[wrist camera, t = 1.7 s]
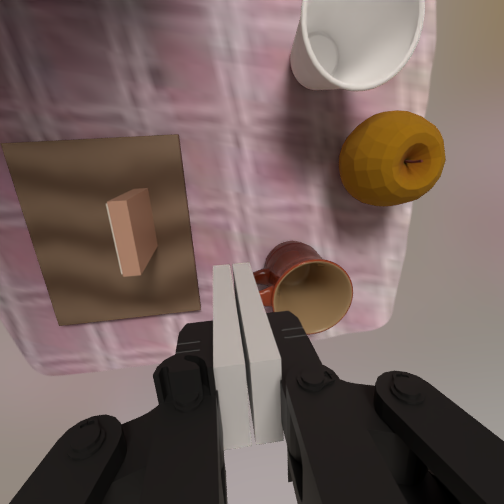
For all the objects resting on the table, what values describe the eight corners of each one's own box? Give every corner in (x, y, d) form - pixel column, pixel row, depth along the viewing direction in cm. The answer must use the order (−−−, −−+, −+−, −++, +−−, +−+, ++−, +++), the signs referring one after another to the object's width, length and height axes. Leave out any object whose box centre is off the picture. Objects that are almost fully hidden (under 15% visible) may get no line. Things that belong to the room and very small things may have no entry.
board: (8, 143, 31) (0, 143, 30) (178, 134, 33) (177, 134, 32) (63, 320, 39) (59, 325, 37) (200, 305, 40) (200, 309, 39)
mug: (322, 231, 39) (357, 257, 30) (317, 290, 42) (348, 331, 32) (232, 235, 38) (239, 263, 28) (234, 295, 41) (241, 340, 31)
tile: (131, 188, 33) (104, 201, 25) (147, 187, 33) (126, 200, 25) (142, 247, 36) (121, 277, 27) (157, 245, 36) (141, 275, 27)
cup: (349, -8, 31) (418, -88, 20) (365, 93, 34) (431, 68, 24) (261, 22, 31) (285, -43, 20) (286, 120, 34) (318, 107, 24)
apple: (412, 150, 37) (496, 150, 26) (362, 212, 39) (421, 237, 28) (358, 99, 34) (427, 75, 23) (307, 169, 36) (349, 177, 25)
